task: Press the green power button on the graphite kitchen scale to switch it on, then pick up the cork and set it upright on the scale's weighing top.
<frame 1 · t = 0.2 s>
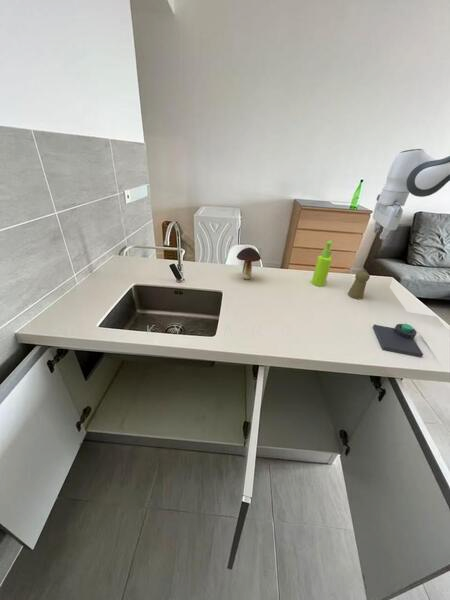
hand: (378, 235, 99), 24 cm above the worktop, tool pointing down, fingers open, 8 cm apart
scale: (395, 341, 80), on the worktop
decorative mushroom: (246, 278, 114), on the worktop
power button: (406, 328, 81), point 3 cm above the worktop, slide at 0.1 cm
soap dispenser: (318, 283, 114), on the worktop
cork: (354, 296, 105), on the worktop
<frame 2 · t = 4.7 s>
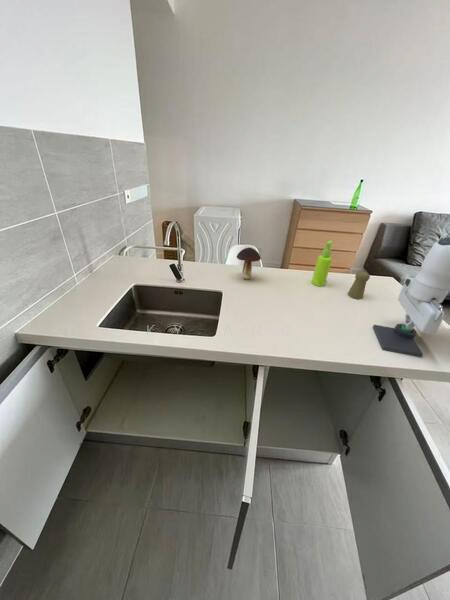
hand: (406, 327, 81), 4 cm above the worktop, tool pointing down, fingers closed, pressing on power button
power button: (406, 329, 81), point 3 cm above the worktop, slide at -0.3 cm, touching gripper
everything else where it was.
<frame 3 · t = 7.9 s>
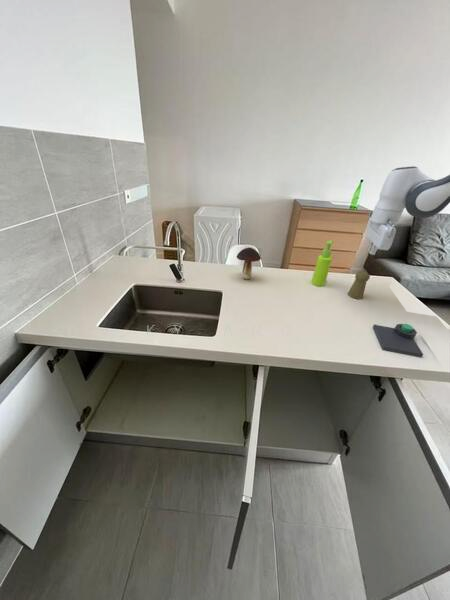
hand: (371, 253, 95), 19 cm above the worktop, tool pointing down, fingers closed
power button: (406, 328, 81), point 3 cm above the worktop, slide at 0.1 cm
everything else where it was.
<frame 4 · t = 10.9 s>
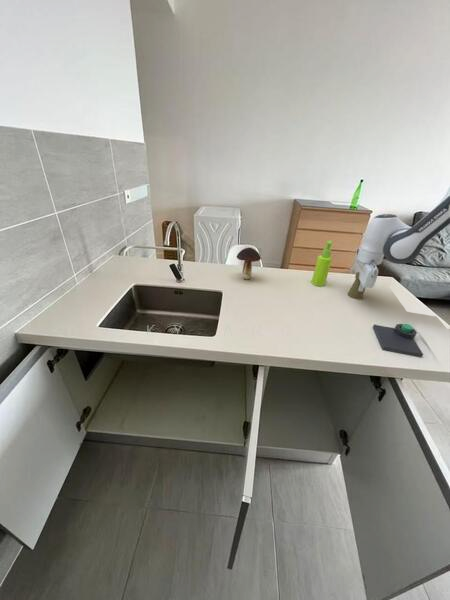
hand: (358, 287, 103), 4 cm above the worktop, tool pointing down, fingers closed on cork, 4 cm apart
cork: (354, 296, 105), on the worktop, touching gripper
everything else where it was.
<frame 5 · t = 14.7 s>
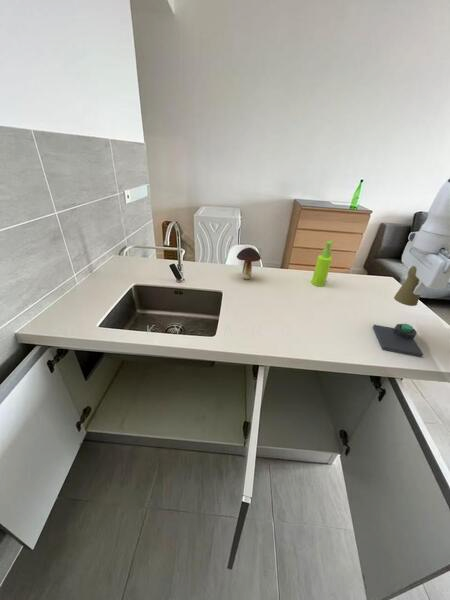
hand: (411, 288, 71), 19 cm above the worktop, tool pointing down, fingers closed on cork, 4 cm apart
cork: (405, 301, 74), point 15 cm above the worktop, touching gripper
everything else where it was.
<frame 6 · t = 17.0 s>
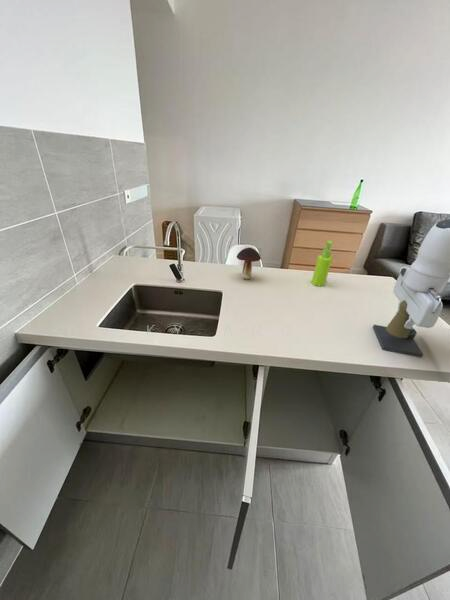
hand: (402, 321, 74), 9 cm above the worktop, tool pointing down, fingers closed on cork, 4 cm apart
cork: (396, 332, 76), point 5 cm above the worktop, touching gripper
everything else where it was.
when the fingers open (6 cm above the worktop, at t = 18.6 s): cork stays where it is, resting on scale.
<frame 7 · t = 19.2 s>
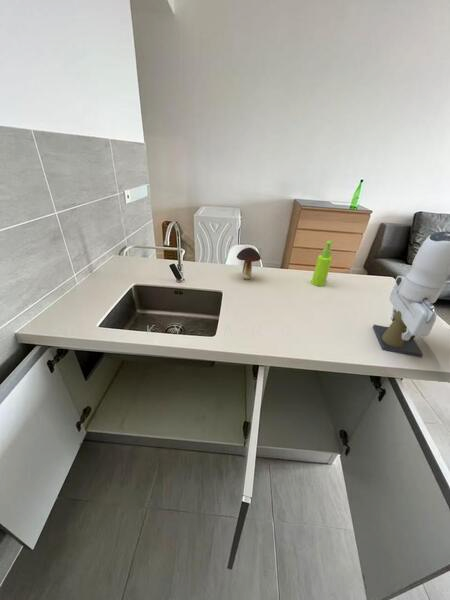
hand: (398, 329, 75), 6 cm above the worktop, tool pointing down, fingers open, 8 cm apart
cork: (391, 341, 78), point 1 cm above the worktop, touching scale
everything else where it was.
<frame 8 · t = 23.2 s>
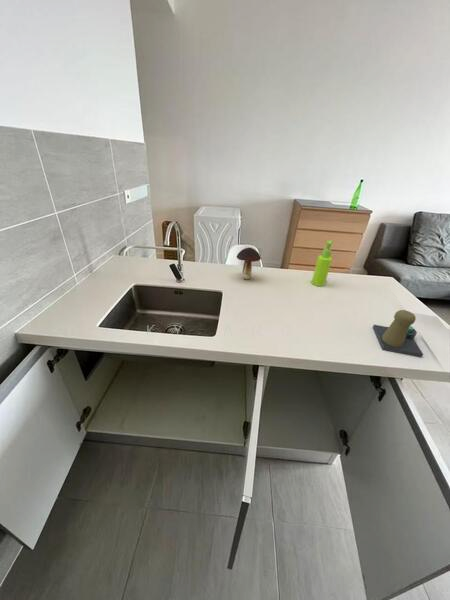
nothing on the worktop moved.
at the end: power button pushed in 0.9 cm at the most during the clip, back to where it started at the end; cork inside the target area on the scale (2.8 cm from its centre), point 1.2 cm above the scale's base; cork touching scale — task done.
